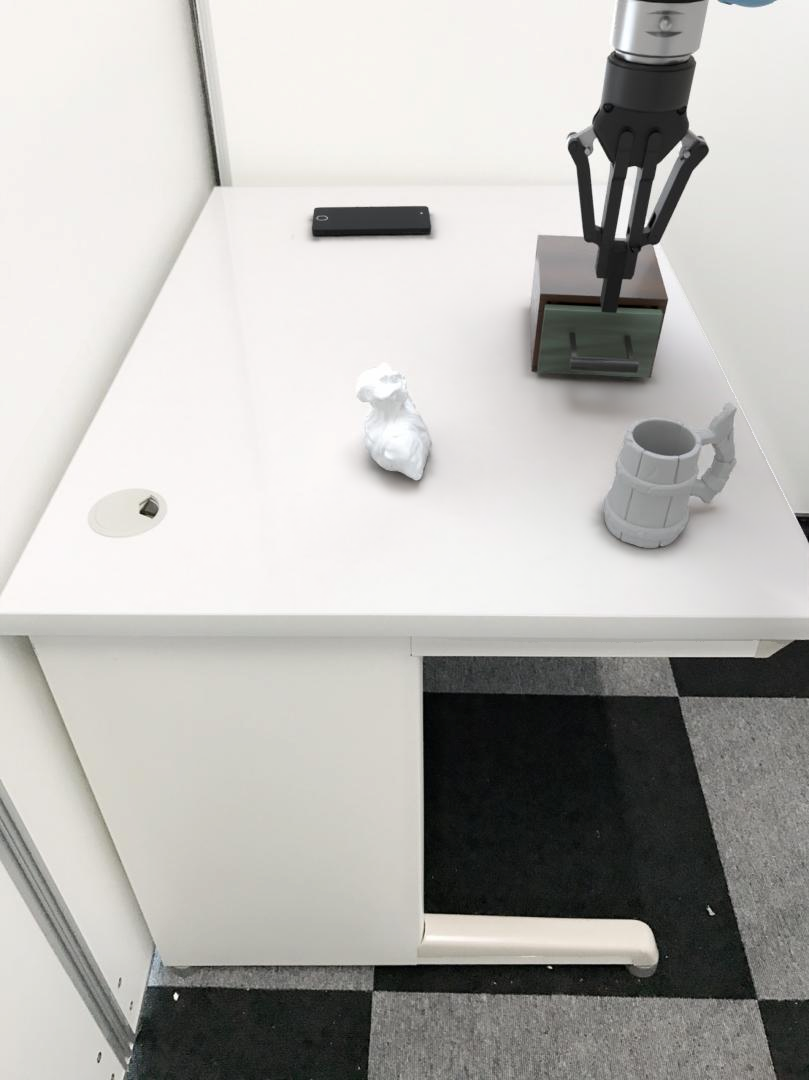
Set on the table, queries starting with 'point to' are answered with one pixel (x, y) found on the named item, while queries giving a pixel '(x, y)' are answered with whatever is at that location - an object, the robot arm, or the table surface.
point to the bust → (393, 422)
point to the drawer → (598, 339)
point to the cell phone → (371, 220)
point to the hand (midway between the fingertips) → (608, 306)
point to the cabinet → (586, 281)
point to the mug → (666, 477)
